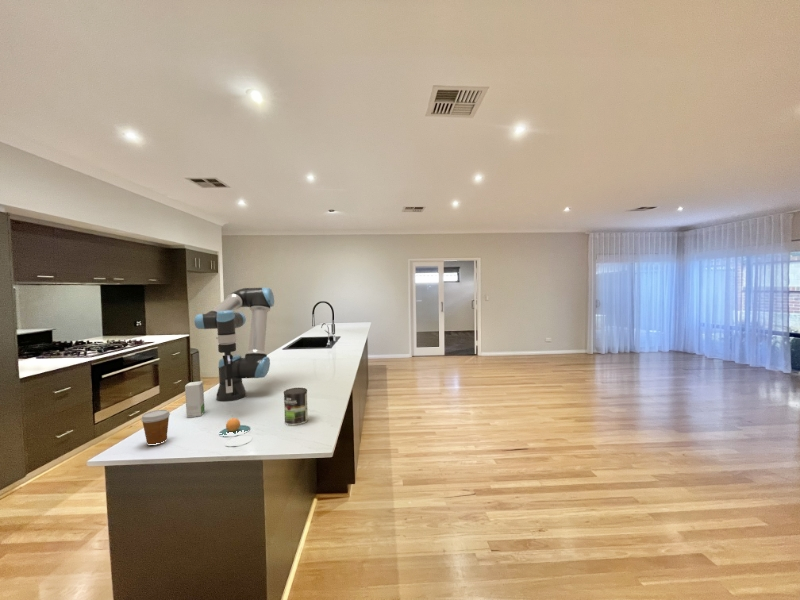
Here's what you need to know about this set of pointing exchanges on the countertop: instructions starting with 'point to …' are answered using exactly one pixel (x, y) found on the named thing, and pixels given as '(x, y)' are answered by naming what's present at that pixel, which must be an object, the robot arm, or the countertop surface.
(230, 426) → the ball
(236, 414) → the countertop surface
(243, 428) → the disc
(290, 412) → the coffee can
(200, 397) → the skincare box
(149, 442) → the disposable coffee cup
